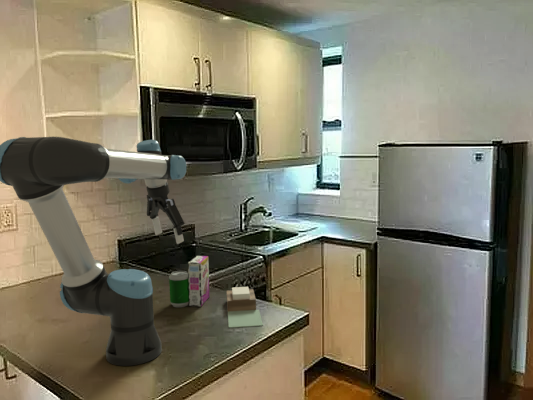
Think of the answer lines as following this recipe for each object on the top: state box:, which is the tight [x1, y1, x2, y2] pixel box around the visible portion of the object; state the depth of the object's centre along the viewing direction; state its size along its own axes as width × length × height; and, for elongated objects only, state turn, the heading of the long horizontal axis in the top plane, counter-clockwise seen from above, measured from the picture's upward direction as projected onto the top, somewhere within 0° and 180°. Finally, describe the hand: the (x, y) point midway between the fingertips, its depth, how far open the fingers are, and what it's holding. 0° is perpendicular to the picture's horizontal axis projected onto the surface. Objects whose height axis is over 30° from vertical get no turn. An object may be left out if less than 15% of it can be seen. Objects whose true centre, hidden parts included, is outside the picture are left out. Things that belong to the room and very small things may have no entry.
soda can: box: [168, 270, 189, 308], centre depth 168 cm, size 8×8×12 cm
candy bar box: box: [187, 255, 210, 308], centre depth 171 cm, size 11×5×16 cm, turn 171°
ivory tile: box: [231, 286, 250, 300], centre depth 165 cm, size 8×6×2 cm
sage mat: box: [227, 309, 264, 329], centre depth 154 cm, size 14×11×1 cm
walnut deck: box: [226, 288, 257, 312], centre depth 166 cm, size 12×10×4 cm
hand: (169, 238), depth 168 cm, fingers open, 13 cm apart
